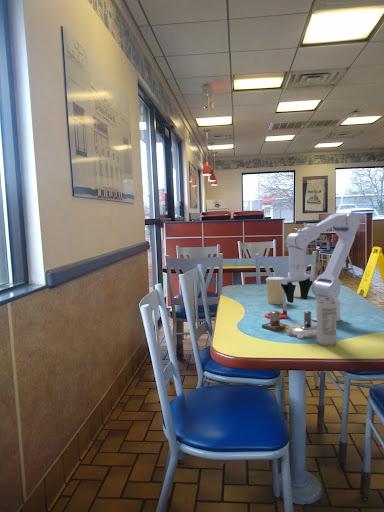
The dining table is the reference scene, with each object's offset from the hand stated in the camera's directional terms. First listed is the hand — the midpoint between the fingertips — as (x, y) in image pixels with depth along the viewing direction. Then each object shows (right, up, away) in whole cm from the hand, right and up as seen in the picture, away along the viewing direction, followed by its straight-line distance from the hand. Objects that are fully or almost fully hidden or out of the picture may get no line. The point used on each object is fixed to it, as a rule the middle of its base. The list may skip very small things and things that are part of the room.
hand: (297, 300), depth 140 cm
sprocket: (+1, -11, -7) cm, 13 cm away
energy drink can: (+4, -12, -19) cm, 23 cm away
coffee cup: (+1, -6, +41) cm, 41 cm away
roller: (-8, -9, 0) cm, 12 cm away
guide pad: (-8, -10, 0) cm, 13 cm away
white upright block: (+16, -4, +55) cm, 58 cm away
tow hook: (-5, -9, +16) cm, 18 cm away
